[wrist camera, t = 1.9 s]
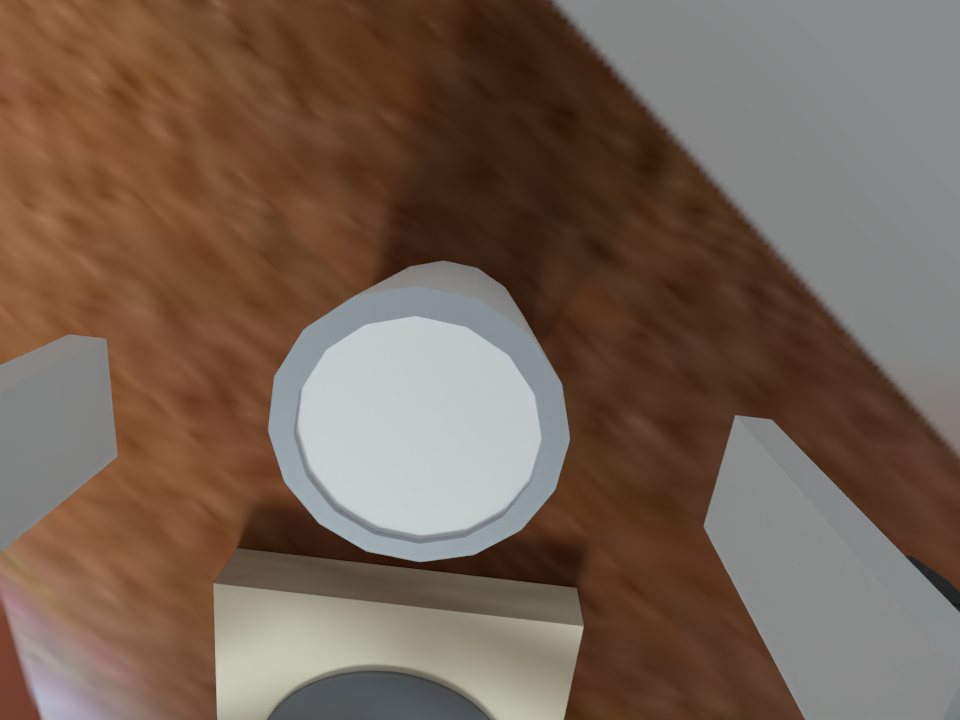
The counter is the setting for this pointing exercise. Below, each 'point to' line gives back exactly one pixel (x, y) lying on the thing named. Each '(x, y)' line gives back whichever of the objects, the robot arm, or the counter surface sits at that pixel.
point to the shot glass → (421, 416)
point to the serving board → (388, 642)
